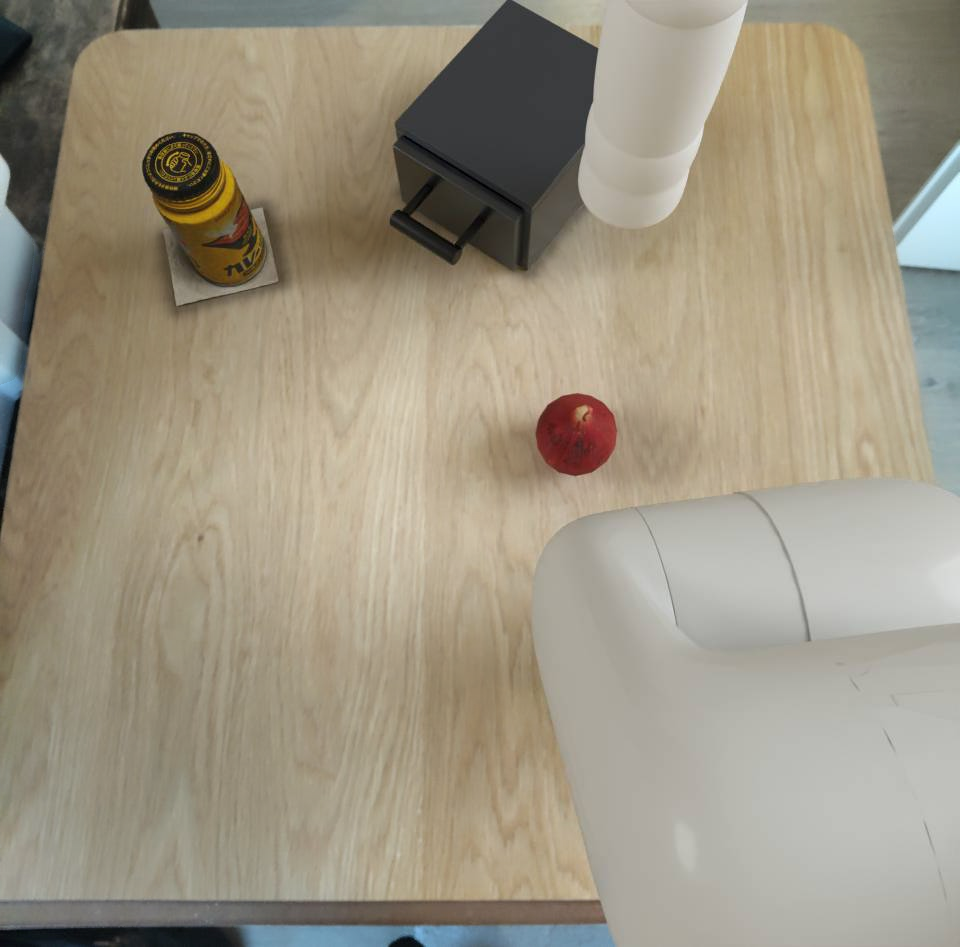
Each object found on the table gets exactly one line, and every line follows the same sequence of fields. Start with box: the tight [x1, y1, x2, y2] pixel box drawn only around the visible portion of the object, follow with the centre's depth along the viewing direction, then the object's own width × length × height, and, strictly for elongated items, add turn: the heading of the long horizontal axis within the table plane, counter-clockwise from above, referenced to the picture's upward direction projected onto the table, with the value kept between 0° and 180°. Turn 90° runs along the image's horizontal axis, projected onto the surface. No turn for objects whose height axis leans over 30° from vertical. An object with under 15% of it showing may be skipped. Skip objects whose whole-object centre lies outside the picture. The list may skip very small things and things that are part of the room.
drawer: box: [388, 136, 524, 272], centre depth 63 cm, size 18×11×7 cm, turn 144°
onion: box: [535, 392, 618, 477], centre depth 57 cm, size 6×6×8 cm
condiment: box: [141, 131, 279, 307], centre depth 61 cm, size 7×8×12 cm
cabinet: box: [394, 0, 599, 272], centre depth 64 cm, size 15×13×9 cm
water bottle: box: [578, 0, 749, 230], centre depth 42 cm, size 7×7×25 cm
